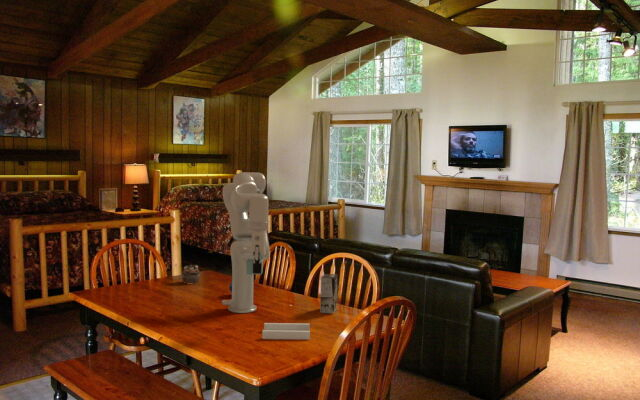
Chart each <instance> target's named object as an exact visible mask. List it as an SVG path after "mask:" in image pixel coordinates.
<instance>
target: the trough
mask: <svg viewBox="0 0 640 400" xmlns="http://www.w3.org/2000/svg"><path fill="white" fill-rule="evenodd" d="M310 324H311V323H302V322H301V323H300V322H299V323H294V322H293V323H290V322H287V323H286V322H284V323H283V322H280V323H279V322H264V324H263V329H262V335H261V336H262V340H308V341H309V340H310V339H311V331H310V329H311V327H310Z"/></svg>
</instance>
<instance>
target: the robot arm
mask: <svg viewBox="0 0 640 400" xmlns="http://www.w3.org/2000/svg"><path fill="white" fill-rule="evenodd" d="M266 185H267V181H266V177H265V175H264V174H263V173H261V172H253V171H252V172H248V171H243V172H238V173H236V174H235V175H234V177H233V178H232V182H229V183H226V184H225V185H223V187H222V199H223V203H224V205H225V208H226V210H227V212H228V215H229V221H230V222H229V224H230V231H231V234H232V235H231V236H232V238H233V239H234V240H235V241H233V242H232V243H231V244H230V256H231V257H230V259H231V268H232V269H231V270H232V271H231V272H232V273H231V274H232V275H231V279H232V281H231V282H232V293H231V299H229V300H226V299H222V300H221V301H222V302H221V304H222V305H223V306H228V309H227V310H228V311H229V312H231V313H236V314H247V313H253V312H255V311H256V310H257V305H255V304H254V275H255V274H246V263H247V260H248V259H254V263H253V273H261V259H263V261H266V260H268V259H269V257H270V254H271V253H270V252H271V251H270V243H269V236H268V231H269V205H270V204H269V202H270V201H269V196H268V195H266V194H264V191H265V190H266V187H267V186H266Z"/></svg>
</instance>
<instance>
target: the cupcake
mask: <svg viewBox="0 0 640 400" xmlns="http://www.w3.org/2000/svg"><path fill="white" fill-rule="evenodd" d="M183 268H184V269H183V270H182V273H181V277H182V282H185V283H196V282H198V283H199V279H200V269H199V266H198V265H197V264H191V263H190V264H186V265H185V266H184V267H183Z"/></svg>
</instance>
